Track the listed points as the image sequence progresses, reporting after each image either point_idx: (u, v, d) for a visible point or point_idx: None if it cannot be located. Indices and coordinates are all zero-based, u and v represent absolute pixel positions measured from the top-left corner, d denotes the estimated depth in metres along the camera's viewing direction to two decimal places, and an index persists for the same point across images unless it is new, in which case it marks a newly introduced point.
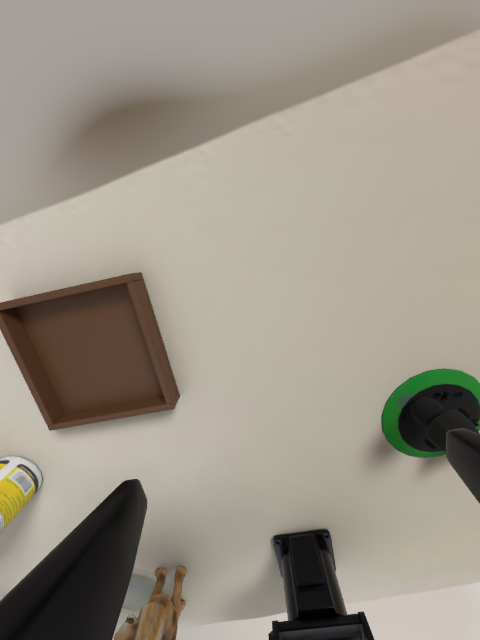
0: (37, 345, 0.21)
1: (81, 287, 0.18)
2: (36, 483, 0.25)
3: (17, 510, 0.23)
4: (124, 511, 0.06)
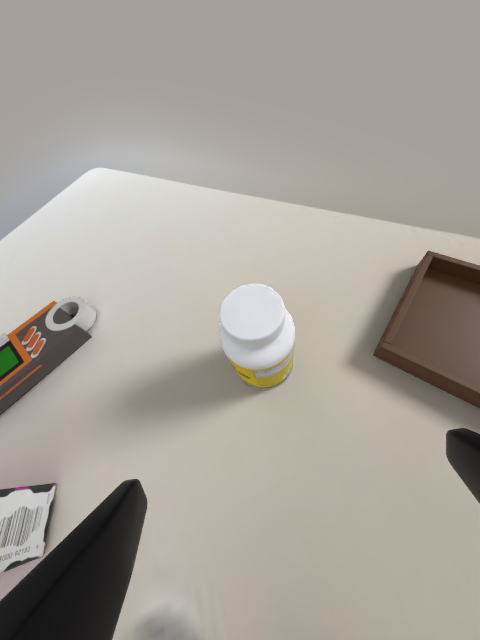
0: (417, 293, 0.23)
1: None
2: (283, 380, 0.20)
3: (275, 378, 0.18)
4: (124, 511, 0.06)
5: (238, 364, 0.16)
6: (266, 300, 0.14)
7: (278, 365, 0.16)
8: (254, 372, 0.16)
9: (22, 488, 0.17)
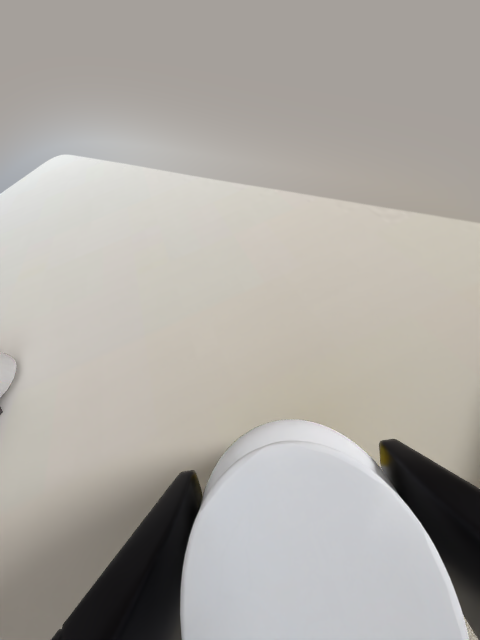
0: None
1: None
2: None
3: None
4: (188, 502, 0.06)
5: None
6: (369, 547, 0.04)
7: None
8: None
9: None
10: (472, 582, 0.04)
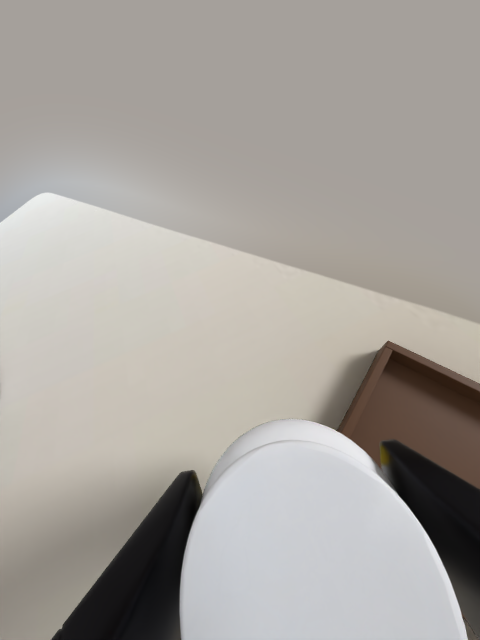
0: (372, 397, 0.18)
1: None
2: None
3: None
4: (188, 502, 0.06)
5: None
6: (368, 545, 0.04)
7: None
8: None
9: None
10: (472, 582, 0.04)
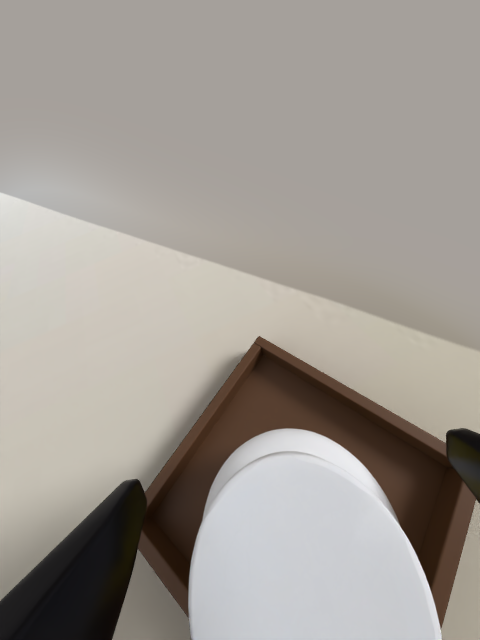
0: (236, 404, 0.15)
1: (386, 413, 0.12)
2: None
3: None
4: (124, 511, 0.06)
5: None
6: (356, 550, 0.04)
7: None
8: None
9: None
10: None
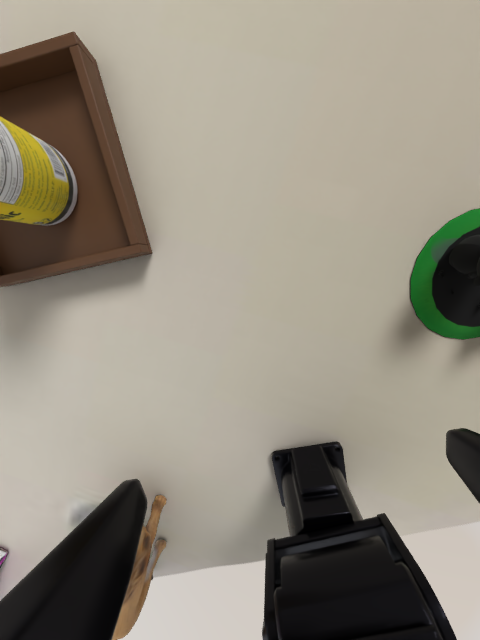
0: None
1: (8, 55, 0.13)
2: (70, 184, 0.16)
3: (43, 187, 0.14)
4: (124, 511, 0.06)
5: None
6: None
7: None
8: None
9: None
10: None
